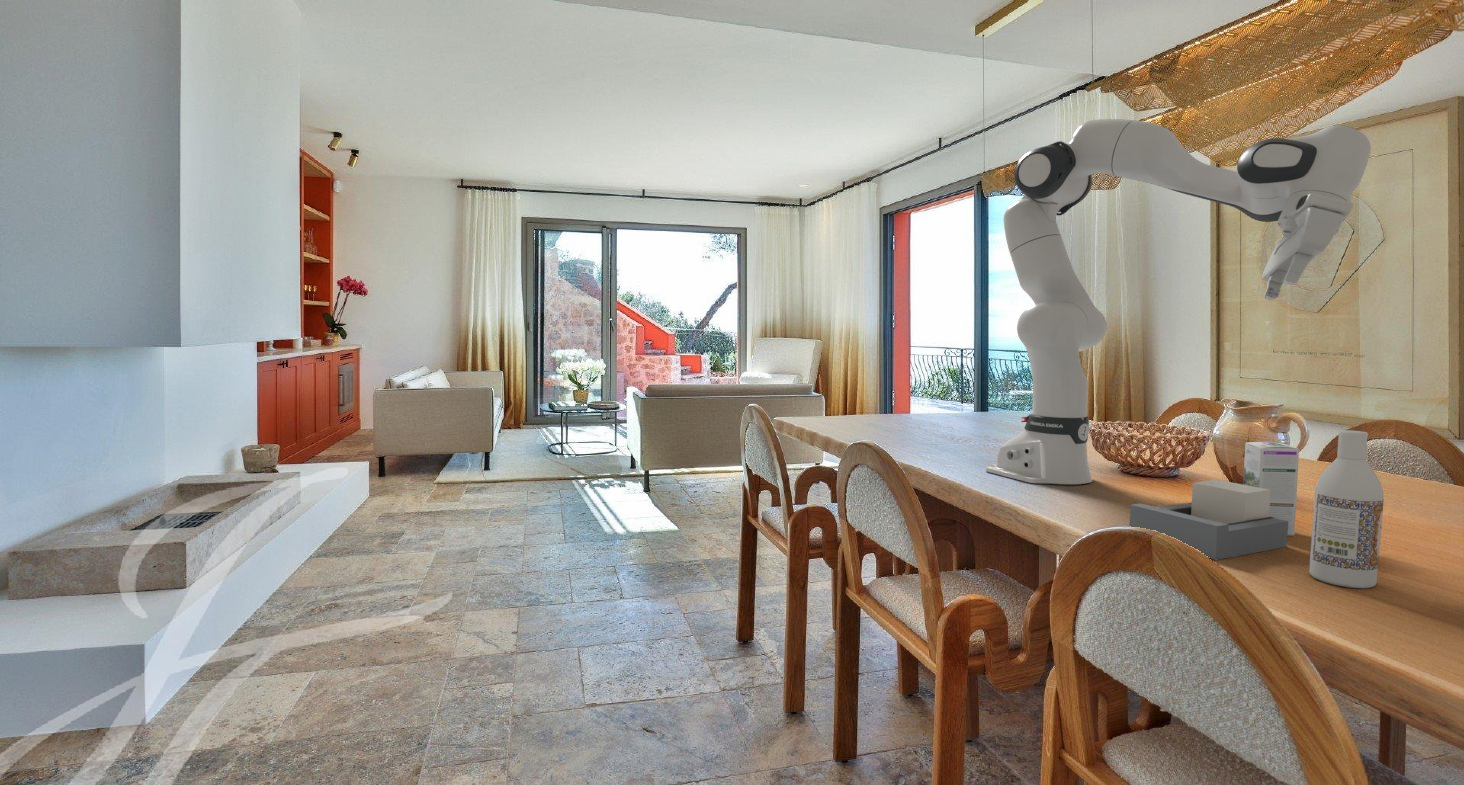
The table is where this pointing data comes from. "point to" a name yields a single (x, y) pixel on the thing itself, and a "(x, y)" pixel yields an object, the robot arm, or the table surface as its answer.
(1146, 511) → the friction dock
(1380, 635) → the table surface
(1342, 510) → the bath foam
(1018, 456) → the robot arm
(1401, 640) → the table surface
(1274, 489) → the syrup box
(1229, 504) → the block
